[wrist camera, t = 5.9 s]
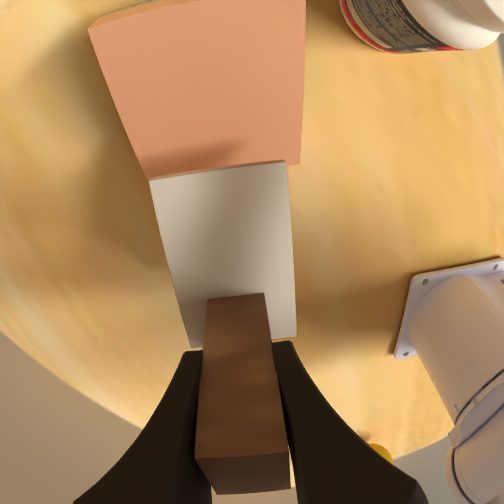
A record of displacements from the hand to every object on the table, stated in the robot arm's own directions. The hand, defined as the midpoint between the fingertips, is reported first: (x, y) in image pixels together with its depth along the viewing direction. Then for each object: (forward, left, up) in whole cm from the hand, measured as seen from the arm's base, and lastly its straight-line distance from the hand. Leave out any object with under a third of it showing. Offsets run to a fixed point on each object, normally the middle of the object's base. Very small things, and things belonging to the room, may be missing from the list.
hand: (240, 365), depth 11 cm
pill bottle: (-9, -13, -8) cm, 18 cm away
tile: (0, -5, -7) cm, 9 cm away
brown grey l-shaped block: (0, -2, -4) cm, 4 cm away
